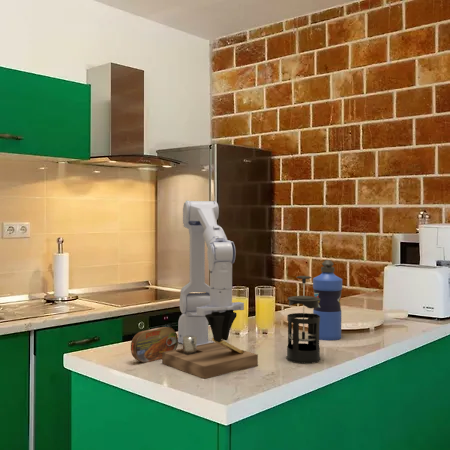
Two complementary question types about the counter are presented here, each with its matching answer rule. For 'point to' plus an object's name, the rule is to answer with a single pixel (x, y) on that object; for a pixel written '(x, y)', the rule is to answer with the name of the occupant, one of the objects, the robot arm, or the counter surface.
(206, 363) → the pin plate
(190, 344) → the peg
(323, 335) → the water bottle
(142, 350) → the tin
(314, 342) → the french press
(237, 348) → the keeper flap
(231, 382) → the counter surface
